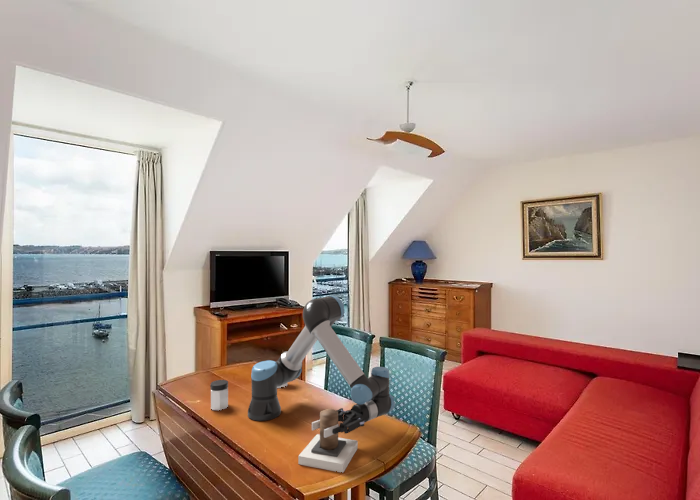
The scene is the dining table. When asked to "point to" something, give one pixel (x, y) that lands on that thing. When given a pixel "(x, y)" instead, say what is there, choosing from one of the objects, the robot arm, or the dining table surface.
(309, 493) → the dining table surface
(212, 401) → the jar
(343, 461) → the frame
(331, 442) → the peg
